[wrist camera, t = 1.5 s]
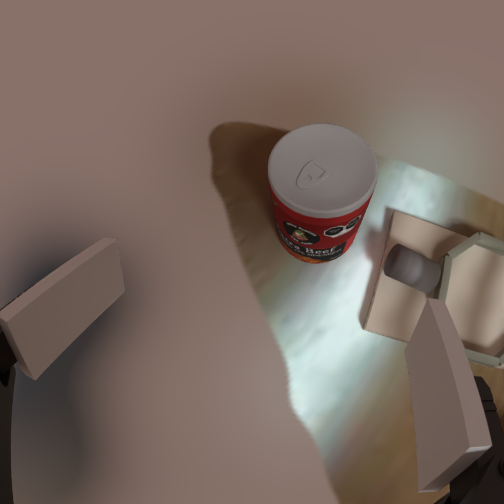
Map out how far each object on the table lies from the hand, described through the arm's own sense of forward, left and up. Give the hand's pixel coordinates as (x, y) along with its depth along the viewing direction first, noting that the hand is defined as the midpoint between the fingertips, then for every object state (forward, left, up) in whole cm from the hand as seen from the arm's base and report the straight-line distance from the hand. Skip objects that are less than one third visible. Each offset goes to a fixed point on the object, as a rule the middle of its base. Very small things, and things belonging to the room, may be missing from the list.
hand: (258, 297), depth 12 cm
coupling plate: (-7, -20, -16) cm, 27 cm away
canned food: (+8, -8, -17) cm, 20 cm away
